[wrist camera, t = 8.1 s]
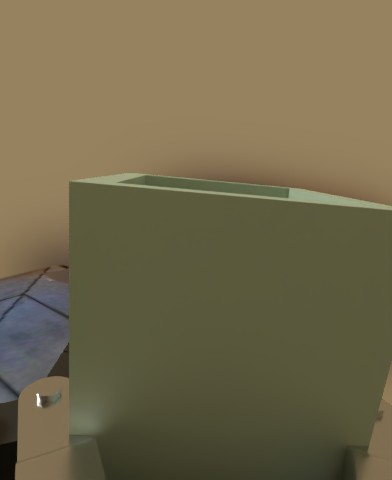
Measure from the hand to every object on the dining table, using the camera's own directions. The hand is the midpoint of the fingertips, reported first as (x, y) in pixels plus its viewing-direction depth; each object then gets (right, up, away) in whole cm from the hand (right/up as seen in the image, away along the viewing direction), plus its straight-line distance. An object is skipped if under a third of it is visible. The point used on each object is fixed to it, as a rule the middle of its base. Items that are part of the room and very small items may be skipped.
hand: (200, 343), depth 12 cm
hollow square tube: (-1, -8, -1) cm, 8 cm away
